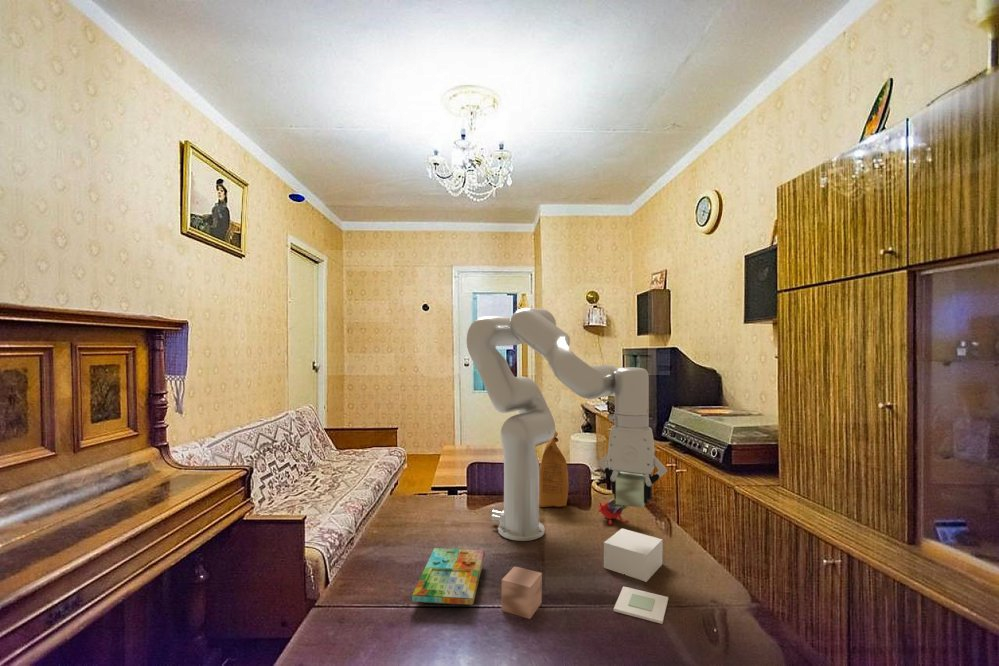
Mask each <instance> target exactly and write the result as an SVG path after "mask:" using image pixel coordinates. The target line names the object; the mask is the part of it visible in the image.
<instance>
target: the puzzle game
mask: <svg viewBox="0 0 999 666" xmlns="http://www.w3.org/2000/svg"><path fill="white" fill-rule="evenodd" d="M485 554H486V552H485V550H481V549H480V550H479V549H477V550H476V549H460V548H459V549H457V548H437V547H436V548H435V547H434V548H433V550H432V552H431V554H430V556H429V559H428V560H427V563H426V565H425V567H424V570H423V571H422V574H421V575H420V577H419V580H418V582H417V584H416V586H415V588H414V590H413V592H412V594H411V602H420V603H425V604H429V603H430V604H441V605H442V604H444V605H445V604H446V605H461V606H462V605H464V606H470V605H474V603H475V599H476V594H477V589H478V585H479V582H480V577H481V572H482V569H483V564H484V560H485V557H486V555H485Z"/></svg>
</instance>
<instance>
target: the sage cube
mask: <svg viewBox="0 0 999 666" xmlns="http://www.w3.org/2000/svg"><path fill="white" fill-rule="evenodd" d="M644 486H645V480H644V477H643V475H642V474H635V473H627V472H620V473H619V474H618V475H617V477H616V504H619V505H625V506H627V507H633V508H639V509H644V507H645V505H646V504H645V503H644Z"/></svg>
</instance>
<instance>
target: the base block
mask: <svg viewBox="0 0 999 666" xmlns="http://www.w3.org/2000/svg"><path fill="white" fill-rule="evenodd" d="M662 565H663V539H662V538H658V537H656V536H651V535H647V534H644V533H640V532H638V531H637V532H636V531H633V530H630V529H629V530H628V529H626V528H620V529H618V530H617V531H616V532H615V533H614V534H612V536H610V537H608V538H607V539H606V540H605V541H604V542H603V568H604V569H607V570H610V571H611V572H612V571H613V572H616V573H619V574H621V575H624V574H625V576H628V577H629V578H630V577H631V578H634V579H637V580H640V581H643V582H644V583H647V582H648V581H649V579H651V577H652V576H653V575H654V574H655V573H656V572H657V571H658V570H659V568H661V567H662Z"/></svg>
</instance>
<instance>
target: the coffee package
mask: <svg viewBox="0 0 999 666" xmlns="http://www.w3.org/2000/svg"><path fill="white" fill-rule="evenodd" d="M557 436H559V433H558V432H557V431H556V430H555V434H554V436H553V438H552V439H551V440H550V441H548V442H546V445H545V448H544V450H543V454H542V456H541V457H542V458H541V461H540V462H539V508H540V507H541V508H546V507H558V508H560V507H561V508H562V507H566V506H567V502H568V495H569V481H570V480H569V479H570V478H569V470H568V465H567V460H566V458H565V456H564V455H563V452H562V451H561V449H560V448H559V447H558V445H557V443H558V442H559V439H558V437H557Z"/></svg>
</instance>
